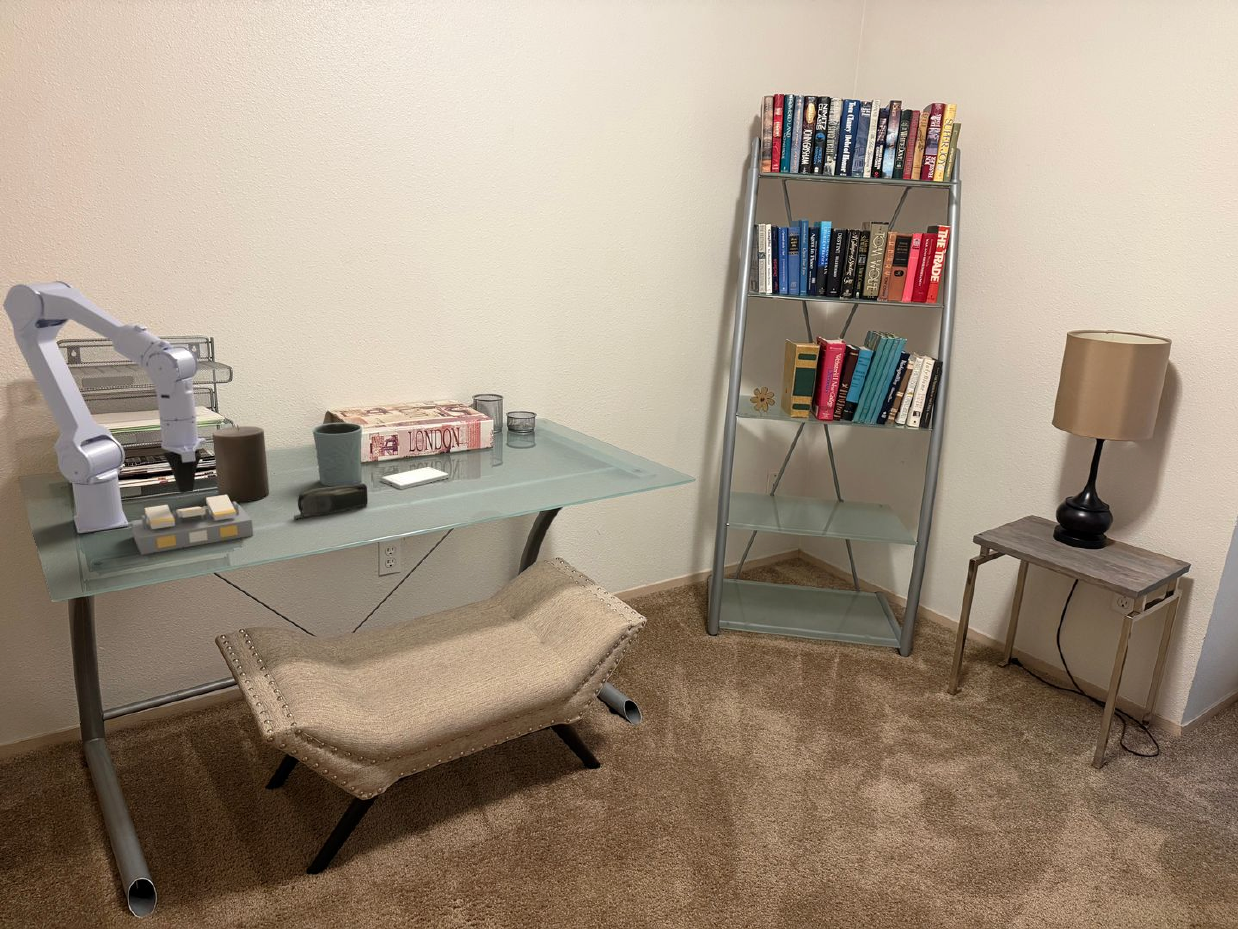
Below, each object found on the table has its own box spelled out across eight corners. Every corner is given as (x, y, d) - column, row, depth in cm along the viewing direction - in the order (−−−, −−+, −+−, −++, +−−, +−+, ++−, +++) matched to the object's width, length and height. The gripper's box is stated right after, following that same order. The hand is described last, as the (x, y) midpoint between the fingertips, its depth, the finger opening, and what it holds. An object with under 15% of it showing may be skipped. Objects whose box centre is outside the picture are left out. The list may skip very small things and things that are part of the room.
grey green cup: (357, 472, 196) (354, 420, 193) (370, 484, 188) (367, 430, 185) (311, 478, 191) (307, 425, 188) (322, 490, 183) (319, 435, 180)
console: (133, 536, 154) (129, 510, 153) (240, 519, 164) (238, 494, 163) (141, 555, 146) (137, 527, 145) (253, 535, 157) (251, 509, 155)
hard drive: (427, 466, 199) (380, 476, 190) (448, 473, 193) (400, 484, 185) (428, 473, 199) (380, 483, 191) (449, 480, 194) (401, 492, 185)
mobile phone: (363, 480, 175) (288, 492, 165) (369, 484, 173) (294, 496, 163) (363, 504, 176) (290, 516, 167) (370, 508, 174) (296, 521, 164)
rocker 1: (145, 513, 153) (144, 507, 153) (167, 509, 155) (167, 504, 155) (151, 529, 148) (151, 523, 148) (175, 525, 150) (174, 519, 150)
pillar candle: (265, 501, 175) (259, 429, 171) (213, 503, 173) (206, 430, 169) (272, 487, 184) (267, 418, 180) (223, 489, 182) (216, 420, 178)
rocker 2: (177, 515, 156) (176, 509, 156) (199, 511, 158) (198, 506, 158) (183, 517, 150) (182, 511, 150) (205, 514, 152) (204, 508, 152)
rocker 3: (206, 502, 159) (205, 497, 158) (227, 499, 161) (227, 494, 160) (214, 520, 154) (214, 515, 153) (236, 517, 156) (236, 512, 155)
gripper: (211, 423, 148) (218, 498, 152) (195, 407, 160) (202, 477, 163) (165, 427, 144) (174, 505, 148) (152, 410, 156) (160, 483, 159)
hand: (186, 491), depth 155 cm, fingers closed
